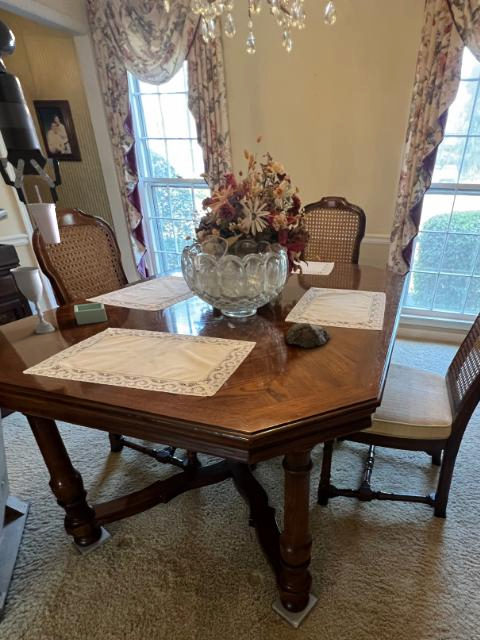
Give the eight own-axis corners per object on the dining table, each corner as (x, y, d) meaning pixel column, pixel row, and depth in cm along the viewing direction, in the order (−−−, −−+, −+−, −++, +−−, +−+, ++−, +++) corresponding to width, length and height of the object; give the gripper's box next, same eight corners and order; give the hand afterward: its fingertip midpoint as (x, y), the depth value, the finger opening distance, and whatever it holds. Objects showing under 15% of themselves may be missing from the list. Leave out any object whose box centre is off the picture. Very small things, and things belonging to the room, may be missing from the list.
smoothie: (42, 245, 102) (23, 185, 95) (37, 242, 106) (18, 185, 99) (68, 242, 106) (51, 185, 99) (62, 240, 110) (46, 185, 103)
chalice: (63, 329, 116) (43, 268, 107) (39, 336, 111) (17, 272, 102) (50, 325, 119) (31, 265, 111) (27, 331, 114) (5, 269, 106)
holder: (78, 324, 120) (74, 312, 118) (77, 317, 127) (74, 305, 125) (107, 321, 124) (104, 308, 122) (105, 314, 130) (102, 302, 128)
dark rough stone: (293, 331, 117) (293, 315, 114) (332, 335, 113) (332, 319, 111) (278, 345, 106) (278, 328, 104) (321, 350, 103) (321, 333, 100)
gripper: (-22, 124, 87) (7, 205, 96) (50, 127, 93) (71, 204, 101) (-16, 127, 93) (11, 204, 101) (51, 130, 98) (71, 202, 107)
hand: (41, 203), depth 101 cm, fingers closed on smoothie, 6 cm apart
